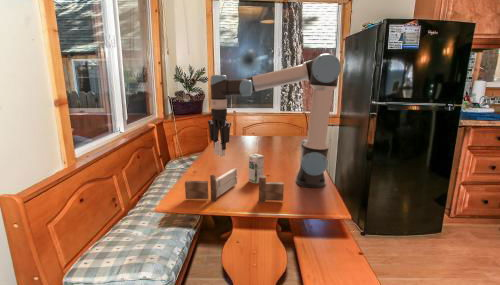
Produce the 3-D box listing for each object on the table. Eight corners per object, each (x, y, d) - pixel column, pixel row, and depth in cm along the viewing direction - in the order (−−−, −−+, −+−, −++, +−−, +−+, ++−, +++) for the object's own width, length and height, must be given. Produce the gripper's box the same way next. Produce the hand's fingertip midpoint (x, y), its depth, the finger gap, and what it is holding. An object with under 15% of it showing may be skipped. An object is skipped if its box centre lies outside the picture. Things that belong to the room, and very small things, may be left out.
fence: (282, 200, 133) (283, 175, 130) (283, 203, 130) (284, 178, 127) (187, 198, 134) (185, 173, 131) (185, 201, 131) (184, 176, 128)
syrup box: (248, 181, 155) (248, 155, 152) (255, 178, 159) (256, 153, 156) (255, 184, 151) (256, 157, 148) (263, 181, 155) (264, 155, 152)
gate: (217, 196, 133) (217, 180, 131) (214, 195, 134) (213, 180, 132) (236, 183, 149) (236, 169, 147) (233, 182, 150) (233, 168, 148)
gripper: (201, 107, 140) (202, 154, 146) (226, 110, 131) (227, 160, 137) (212, 106, 146) (213, 150, 152) (237, 108, 137) (237, 156, 143)
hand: (219, 155), depth 144 cm, fingers open, 3 cm apart
